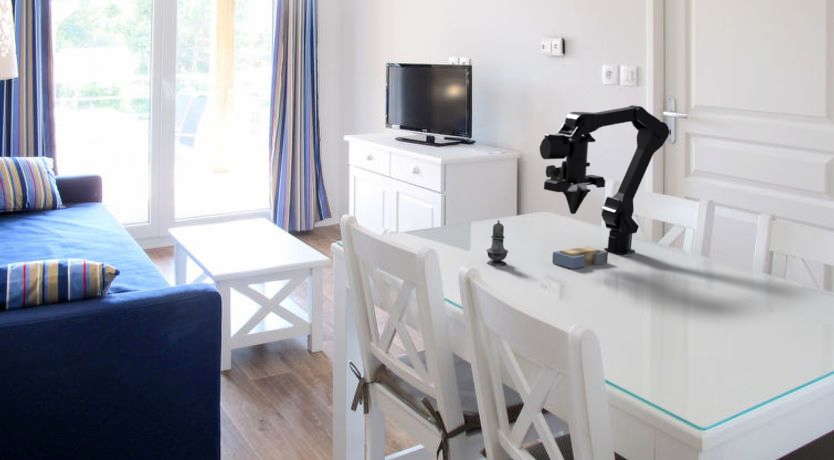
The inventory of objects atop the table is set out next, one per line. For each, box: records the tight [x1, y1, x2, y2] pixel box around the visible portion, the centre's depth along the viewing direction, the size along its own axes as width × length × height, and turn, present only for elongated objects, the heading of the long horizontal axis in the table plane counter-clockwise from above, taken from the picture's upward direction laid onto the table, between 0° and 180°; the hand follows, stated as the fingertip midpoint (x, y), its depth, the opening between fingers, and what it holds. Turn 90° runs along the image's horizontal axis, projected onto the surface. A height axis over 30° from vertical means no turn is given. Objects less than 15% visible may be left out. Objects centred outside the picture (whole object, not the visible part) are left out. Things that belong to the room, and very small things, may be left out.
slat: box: [559, 246, 599, 266], centre depth 241 cm, size 10×4×4 cm, turn 121°
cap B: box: [552, 250, 585, 270], centre depth 239 cm, size 4×8×3 cm, turn 36°
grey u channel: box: [592, 248, 609, 266], centre depth 244 cm, size 4×8×3 cm, turn 36°
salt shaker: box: [486, 220, 509, 267], centre depth 238 cm, size 6×6×12 cm
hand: (572, 213), depth 247 cm, fingers closed
